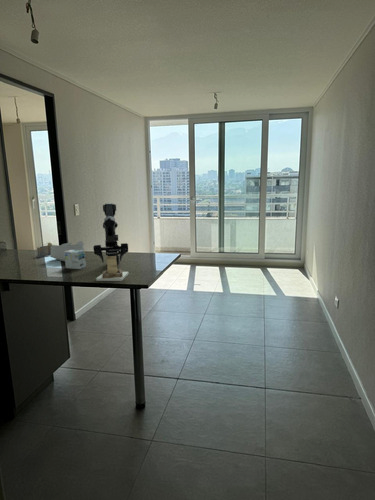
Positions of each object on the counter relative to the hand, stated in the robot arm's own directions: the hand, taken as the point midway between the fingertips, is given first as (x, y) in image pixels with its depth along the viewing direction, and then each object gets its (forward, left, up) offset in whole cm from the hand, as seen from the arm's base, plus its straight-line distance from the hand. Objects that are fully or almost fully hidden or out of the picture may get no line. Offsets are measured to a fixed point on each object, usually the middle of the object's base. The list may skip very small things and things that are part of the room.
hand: (111, 261), depth 179 cm
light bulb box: (-31, +22, -9) cm, 40 cm away
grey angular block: (-46, +45, -9) cm, 65 cm away
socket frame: (0, +1, -8) cm, 8 cm away
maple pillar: (0, +1, -8) cm, 8 cm away
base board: (0, +1, -9) cm, 9 cm away
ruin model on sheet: (-70, +58, -10) cm, 91 cm away
